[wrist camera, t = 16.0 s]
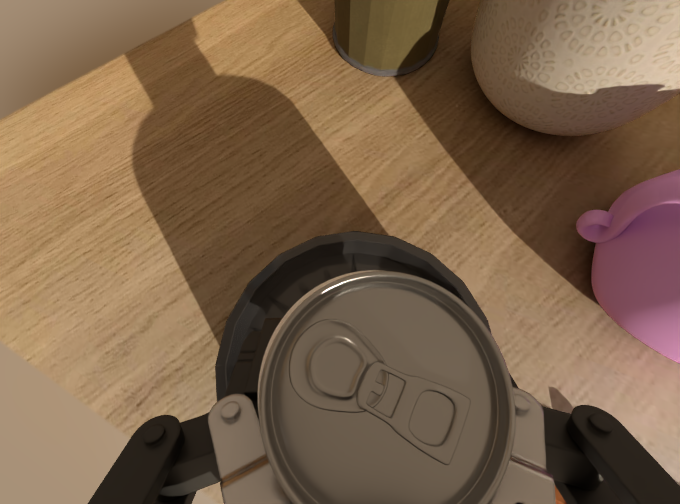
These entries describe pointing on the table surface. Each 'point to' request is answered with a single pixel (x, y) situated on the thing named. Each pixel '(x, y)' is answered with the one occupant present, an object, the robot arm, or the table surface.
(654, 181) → the teapot
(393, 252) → the bowl
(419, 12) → the canister
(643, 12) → the planter
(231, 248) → the table surface
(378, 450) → the can
